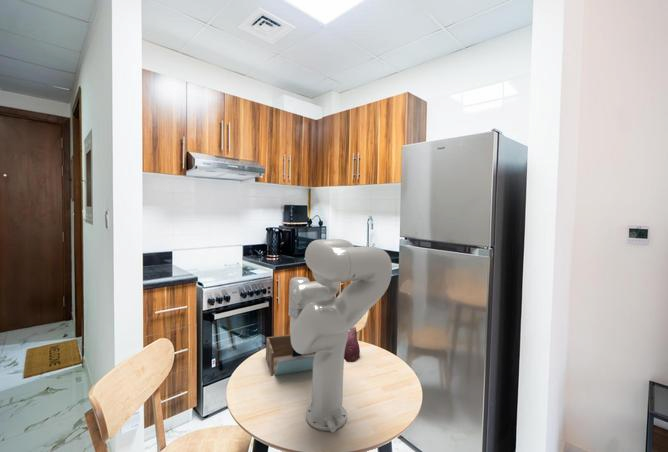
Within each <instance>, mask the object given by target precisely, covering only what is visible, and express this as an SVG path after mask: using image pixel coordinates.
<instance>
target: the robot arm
mask: <svg viewBox="0 0 668 452" xmlns="http://www.w3.org/2000/svg"><path fill="white" fill-rule="evenodd" d="M304 260H305V264H306V266H307V267H308V269H309V270H311V274H312V277H313V278H314V281H310V279H309V277H305V276H294V277H292V278H290V281H289V291H288V313H287V314H288V316H289V317H290V321H289V335H290V339H291V345H292V347H293V351H292V357H296V356H302V354H309V353H313V352H316V353H315V356H314V359H313V370H312V372H311V374H312V375H311V376H312V379H311V405H310V406H309V407H307V409H306V413H305V419H306V422H307V423H308V424H309V425H310V426H311V427H312V428H313V429H316V430H318V431H324V432H325V431H326V432H330V433H335V432H336V431H337V430H338V429H340V428H341V427H343V426H344V425H345V423H346V422H347V419H348V413H347V410H346V409H345V407H344V406H343V398H344V397H343V391H344V366H345V364H344V363H345V359H344V353H345V347H346V342H347V338H348V332H349V331H350V330H351V329H352V328H354V327H356V325H357V324H358V322H360V320H362V318H363V317H364V316H365V315H366V314H367V313H368V311H369V310H370V309H372V307H373V306H374V305H375V304H376V303H377V302H378V301H379V300H381V298H382V297H383V296H384V295H385V293H386V291H387V290H388V288H389V286H390V283H391V280H392V274H393V273H392V272H393V263H392V259H391V257H390V255H389V253H387V252H386V251H385V250H384V249H382V248H379V247H377V246H369V245H368V246H367V245H365V246H364V245H363V246H355V245H354V244H353V243H352V242H350V241H349V240H346V239H342V238H340V239H339V238H338V239H337V238H333V239H332V238H330V239H327V238H326V239H315V240H313V241H311V242H309V244H308V246H307V247H306V249H305V253H304ZM343 282H350V283H348V285H346V286H345V287H344V288H343V289H342V290H341V292H340V293H339V294H338V292H339V290H340V284H341V283H343ZM337 294H338V296H336V295H337ZM335 296H336V297H335Z"/></svg>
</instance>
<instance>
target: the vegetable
mask: <svg viewBox="0 0 668 452" xmlns="http://www.w3.org/2000/svg"><path fill="white" fill-rule="evenodd" d="M360 350H361V349H360V344H359V340H358V336H357V327H356V326H354V327H353V328H352V329H351V330H349V331H348V338H347V342H346V347H345V353H344V361H345V362H347V363H353V362H356V361H358V360H359V359H360V355H361V354H360V353H361V352H360Z"/></svg>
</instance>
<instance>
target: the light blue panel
mask: <svg viewBox="0 0 668 452" xmlns="http://www.w3.org/2000/svg"><path fill="white" fill-rule="evenodd" d="M314 356H315V354H311V355H303V356H296V357H289V358H282V359H278V362H277V366H276V369H275V374H274V376H279V375H285V374H291V373H297V372H298V373H299V372H306V371H313V359H314Z"/></svg>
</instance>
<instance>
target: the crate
mask: <svg viewBox="0 0 668 452" xmlns="http://www.w3.org/2000/svg"><path fill="white" fill-rule="evenodd" d="M265 338H266V339H265V359H266V360H265V361H266V363H267V365H268V370H269V373H270V377H274V375H275V369H276V366H277V362H278V359H282V358H289V357H292V351H293V347H292V345H291V339H290V334H285V335H276V336H267V337H265ZM315 353H316V352H313V353H309V354H302V356H303V355H311V354H315Z"/></svg>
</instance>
